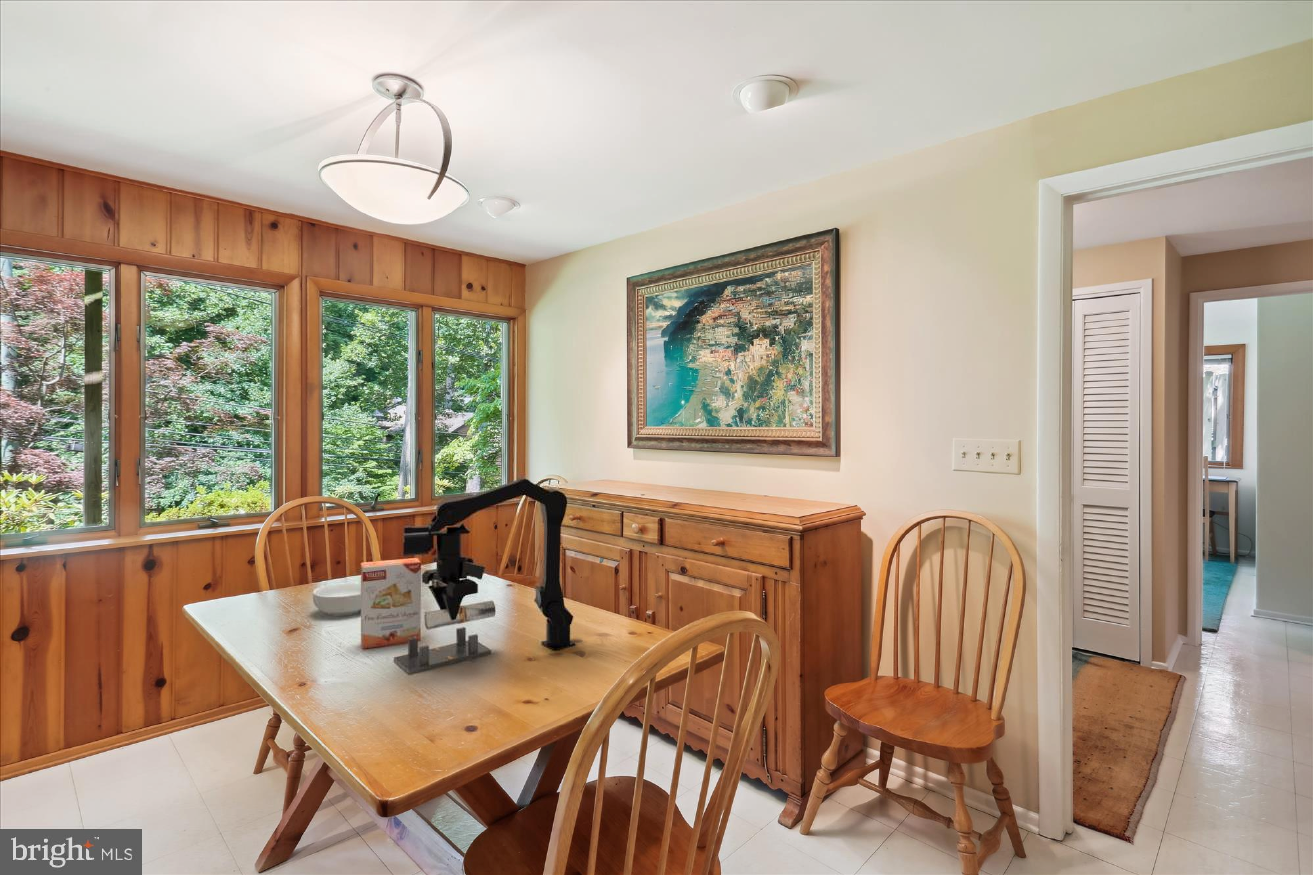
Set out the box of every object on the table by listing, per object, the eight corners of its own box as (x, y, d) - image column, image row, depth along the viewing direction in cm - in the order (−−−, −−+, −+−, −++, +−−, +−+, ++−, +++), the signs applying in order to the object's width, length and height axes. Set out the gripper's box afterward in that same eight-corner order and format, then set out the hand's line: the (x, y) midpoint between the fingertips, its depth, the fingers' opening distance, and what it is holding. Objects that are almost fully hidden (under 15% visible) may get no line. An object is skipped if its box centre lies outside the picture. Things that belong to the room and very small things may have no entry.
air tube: (490, 616, 161) (488, 600, 162) (496, 617, 158) (494, 600, 159) (425, 629, 152) (423, 611, 153) (429, 630, 149) (428, 612, 149)
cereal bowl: (358, 621, 182) (358, 596, 182) (300, 620, 182) (300, 596, 182) (385, 604, 199) (385, 581, 199) (332, 603, 199) (331, 580, 199)
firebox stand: (491, 653, 157) (491, 633, 157) (408, 674, 144) (408, 652, 144) (473, 642, 165) (473, 623, 165) (393, 661, 152) (393, 640, 152)
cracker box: (362, 650, 159) (361, 566, 159) (360, 642, 165) (359, 561, 164) (421, 641, 166) (421, 560, 165) (418, 634, 171) (417, 556, 171)
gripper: (498, 554, 152) (498, 619, 152) (463, 542, 166) (464, 602, 166) (453, 561, 144) (453, 629, 145) (421, 548, 158) (421, 611, 159)
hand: (449, 617), depth 154 cm, fingers closed on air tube, 4 cm apart
